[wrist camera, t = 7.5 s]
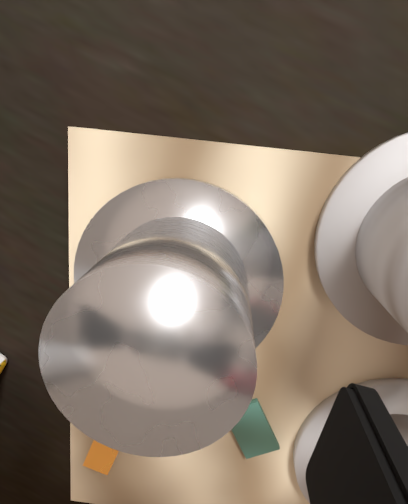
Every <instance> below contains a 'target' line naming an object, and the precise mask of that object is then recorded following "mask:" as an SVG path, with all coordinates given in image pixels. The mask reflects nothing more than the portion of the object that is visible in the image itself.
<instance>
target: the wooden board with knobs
mask: <svg viewBox="0 0 408 504" xmlns="http://www.w3.org/2000/svg"><path fill="white" fill-rule="evenodd" d="M162 178H189V179H196V180H200V181H204V182H208V183H211V184H213V185H216V186H219V187H221V188H223V189H225V190H227V191H229V192H231V193H233V194H234V195H236V196H237V197H238V198H240V199H241V200H243V201H244V202H245V203H246V204H247V205H249V206H250V207H251V208H252V209H253V210H254V211H255V212H256V213H257V215H258V216H259V217H260V218H261V220H262V221H263V222H264V223H265V225H266V227H267V228H268V230H269V232H270V233H271V235H272V237H273V240H274V242H275V244H276V247H277V249H278V251H279V255H280V259H281V262H282V268H283V276H284V288H283V297H282V303H281V306H280V310H279V313H278V316H277V318H276V320H275V322H274V324H273V327H272V328H271V330H270V331H269V333H268V334H267V336H266V337H265V339H264V340H263V341H262V342H261V343H260V344H259V346H258V347H257V348H256V349H255V350H256V358H257V380H256V387H255V391H254V394H253V397H252V400H251V402H250V404H249V406H248V409H247V411H246V412H245V414H244V415H243V417H242V418H241V419H240V421H239V422H238V423H237V424H236V425H235V426H234V427H233V429H232V430H231V431H229V432H228V433H227V434H226V435H224V436H223V437H222V438H221V439H219V440H217V441H216V442H214V443H213V444H211V445H209V446H207V447H204V448H202V449H200V450H197V451H194V452H191V453H188V454H183V455H178V456H170V457H145V456H138V455H132V454H128V453H124V452H121V451H119V452H118V454H117V456H116V458H115V460H114V462H113V465H112V467H111V469H110V471H109V473H108V475H105V474H102V473H100V472H97V471H95V470H92V469H90V468H87V467H85V466H83V463H84V461H85V459H86V456H87V454H88V452H89V450H90V447H91V445H92V443H93V439H92V438H90V437H88V436H87V435H85V434H84V433H83V432H81V431H80V430H79V429H77V428H76V427H75V426H74V425H73V424H72V423H71V422H70V464H71V501H78V502H85V503H92V504H310V500H309V495H308V490H307V485H306V468H307V465H308V462H309V460H310V458H311V455H312V453H313V451H314V448H315V446H316V444H317V441H318V439H319V437H320V434H321V432H322V430H323V427H324V425H325V423H326V420H327V418H328V416H329V413H330V411H331V409H332V406H333V404H334V401H335V399H336V397H337V394H338V392H339V390H340V389H341V388H342V387H346V388H347V386H348V385H349V384H351V383H354V384H358V385H362V386H366V387H370V388H373V389H375V390H376V391H377V392H378V394H379V396H380V397H381V399H382V401H383V403H384V405H385V406H386V408H387V410H388V412H389V414H390V415H391V417H392V419H393V421H394V423H395V424H396V426H397V428H398V430H399V432H400V433H401V435H402V437H403V439H404V441H405V442H406V444H407V446H408V132H407V133H404V134H401V135H399V136H396V137H393V138H391V139H389V140H387V141H385V142H383V143H381V144H379V145H378V146H376V147H375V148H373V149H372V150H370V151H369V152H367V153H366V154H365V155H363V156H362V157H353V156H343V155H334V154H325V153H315V152H306V151H296V150H287V149H278V148H268V147H259V146H250V145H240V144H231V143H222V142H212V141H203V140H194V139H184V138H175V137H165V136H156V135H147V134H137V133H128V132H119V131H109V130H100V129H91V128H79V127H68V192H69V288H70V287H71V286H72V285H73V284H74V262H75V255H76V251H77V247H78V244H79V241H80V239H81V237H82V234H83V232H84V230H85V228H86V227H87V225H88V224H89V222H90V220H91V219H92V218H93V217H94V215H95V214H96V213H97V212H98V211H99V209H101V208H102V207H103V206H104V205H105V204H106V203H107V202H108V201H109V200H111V199H112V198H114V197H115V196H117V195H118V194H120V193H122V192H124V191H126V190H128V189H130V188H132V187H134V186H136V185H138V184H142V183H145V182H148V181H151V180H157V179H162Z"/></svg>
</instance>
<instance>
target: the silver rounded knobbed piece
mask: <svg viewBox="0 0 408 504" xmlns="http://www.w3.org/2000/svg"><path fill="white" fill-rule="evenodd" d="M283 288H284V276H283V268H282V262H281V259H280V255H279V251H278V249H277V247H276V244H275V242H274V240H273V237H272V235H271V233H270V232H269V230H268V228H267V227H266V225H265V223H264V222H263V221H262V220H261V218H260V217H259V216H258V215H257V213H256V212H255V211H254V210H253V209H252V208H251V207H250V206H249V205H247V204H246V203H245V202H244V201H243V200H241V199H240V198H238V197H237V196H236V195H234V194H233V193H231V192H229V191H227V190H225V189H223V188H221V187H219V186H216V185H213V184H211V183H208V182H204V181H200V180H196V179H189V178H162V179H157V180H151V181H148V182H145V183H142V184H138V185H136V186H134V187H132V188H130V189H128V190H126V191H124V192H122V193H120V194H118V195H117V196H115V197H114V198H112V199H111V200H109V201H108V202H107V203H106V204H105V205H104V206H103V207H102V208H101V209H99V211H98V212H97V213H96V214H95V215H94V217H93V218H92V219H91V220H90V222H89V224H88V225H87V227H86V228H85V230H84V232H83V234H82V237H81V239H80V241H79V244H78V247H77V251H76V255H75V262H74V284H73V285H72V286H71V287H70V288H69V289H68V290H67V291H66V292H64V293H63V294H62V296H61V297H60V298H59V299H58V300H57V301H56V303H55V304H54V305H53V307H52V308H51V310H50V312H49V313H48V315H47V317H46V320H45V322H44V324H43V327H42V331H41V335H40V340H39V365H40V370H41V375H42V378H43V381H44V384H45V386H46V389H47V391H48V393H49V395H50V397H51V399H52V400H53V402H54V403H55V405H56V406H57V408H58V409H59V410H60V411H61V413H62V414H63V415H64V416H65V417H66V418H67V419H68V420H69V421H70V422H71V423H72V424H73V425H74V426H75V427H76V428H77V429H79V430H80V431H81V432H83V433H84V434H85V435H87V436H88V437H90V438H92V439H93V443H92V445H91V447H90V450H89V452H88V454H87V456H86V459H85V461H84V463H83V466H85V467H87V468H90V469H92V470H95V471H97V472H100V473H102V474H105V475H108V473H109V471H110V469H111V467H112V465H113V462H114V460H115V458H116V456H117V454H118V452H119V451H121V452H124V453H128V454H132V455H138V456H145V457H170V456H178V455H183V454H188V453H191V452H194V451H197V450H200V449H202V448H204V447H207V446H209V445H211V444H213V443H214V442H216V441H217V440H219V439H221V438H222V437H223V436H224V435H226V434H227V433H228V432H229V431H231V430H232V429H233V427H234V426H235V425H236V424H237V423H238V422H239V421H240V419H241V418H242V417H243V415H244V414H245V412H246V411H247V409H248V406H249V404H250V402H251V400H252V397H253V394H254V391H255V387H256V380H257V358H256V350H255V349H256V348H257V347H258V346H259V344H260V343H261V342H262V341H263V340H264V339H265V337H266V336H267V334H268V333H269V331H270V330H271V328H272V327H273V324H274V322H275V320H276V318H277V316H278V313H279V310H280V306H281V303H282V297H283Z"/></svg>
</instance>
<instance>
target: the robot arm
mask: <svg viewBox="0 0 408 504" xmlns="http://www.w3.org/2000/svg"><path fill="white" fill-rule="evenodd" d="M306 485H307V490H308V495H309V500H310V504H408V446H407V444H406V442H405V441H404V439H403V437H402V435H401V433H400V432H399V430H398V428H397V426H396V424H395V423H394V421H393V419H392V417H391V415H390V414H389V412H388V410H387V408H386V406H385V405H384V403H383V401H382V399H381V397H380V396H379V394H378V392H377V391H376V390H375V389H373V388H370V387H366V386H362V385H358V384H354V383H351V384H349V385H348V386H347V388H346V387H342V388H341V389H340V390H339V392H338V394H337V397H336V399H335V401H334V404H333V406H332V409H331V411H330V413H329V416H328V418H327V420H326V423H325V425H324V427H323V430H322V432H321V434H320V437H319V439H318V441H317V444H316V446H315V448H314V451H313V453H312V455H311V458H310V460H309V462H308V465H307V468H306Z"/></svg>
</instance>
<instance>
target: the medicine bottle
mask: <svg viewBox="0 0 408 504" xmlns="http://www.w3.org/2000/svg"><path fill="white" fill-rule="evenodd" d="M6 363H7V358H6V357H5V356H4V355H3V354H1V353H0V374H1V372H2V370H3V369H4V367H5V365H6Z"/></svg>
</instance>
